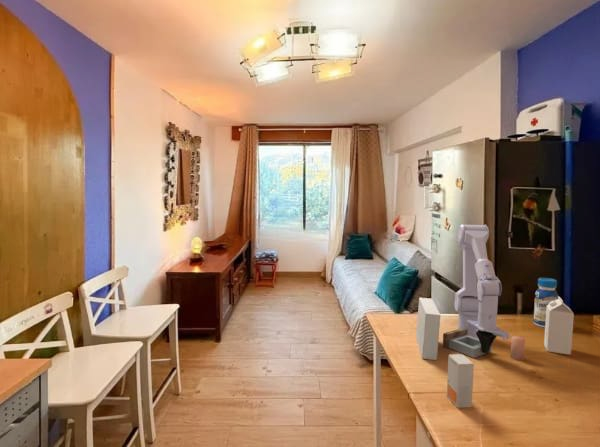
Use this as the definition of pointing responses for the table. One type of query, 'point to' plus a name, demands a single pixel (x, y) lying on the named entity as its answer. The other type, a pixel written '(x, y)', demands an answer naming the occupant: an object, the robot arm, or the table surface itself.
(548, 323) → the milk carton
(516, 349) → the peach egg shape
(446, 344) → the walnut wall
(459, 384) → the skincare box
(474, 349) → the socket block
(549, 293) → the beverage bottle
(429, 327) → the skincare box
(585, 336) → the table surface
